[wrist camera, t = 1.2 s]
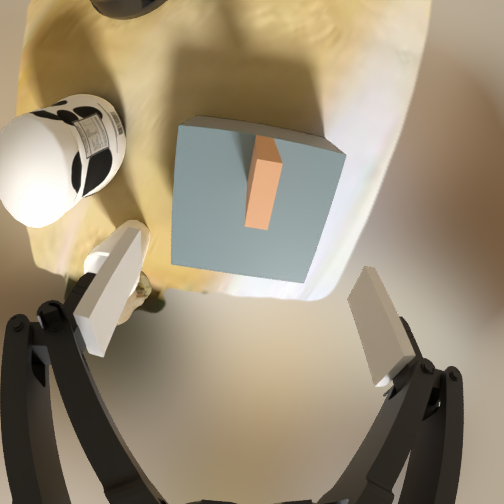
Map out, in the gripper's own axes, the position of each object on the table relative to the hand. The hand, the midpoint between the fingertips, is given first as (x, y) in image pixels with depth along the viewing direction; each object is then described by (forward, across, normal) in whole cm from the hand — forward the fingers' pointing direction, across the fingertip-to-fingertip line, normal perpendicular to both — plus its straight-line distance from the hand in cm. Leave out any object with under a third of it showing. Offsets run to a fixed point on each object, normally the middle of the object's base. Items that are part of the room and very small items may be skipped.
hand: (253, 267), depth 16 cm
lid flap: (+20, +1, -6) cm, 21 cm away
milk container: (+31, -28, -2) cm, 42 cm away
